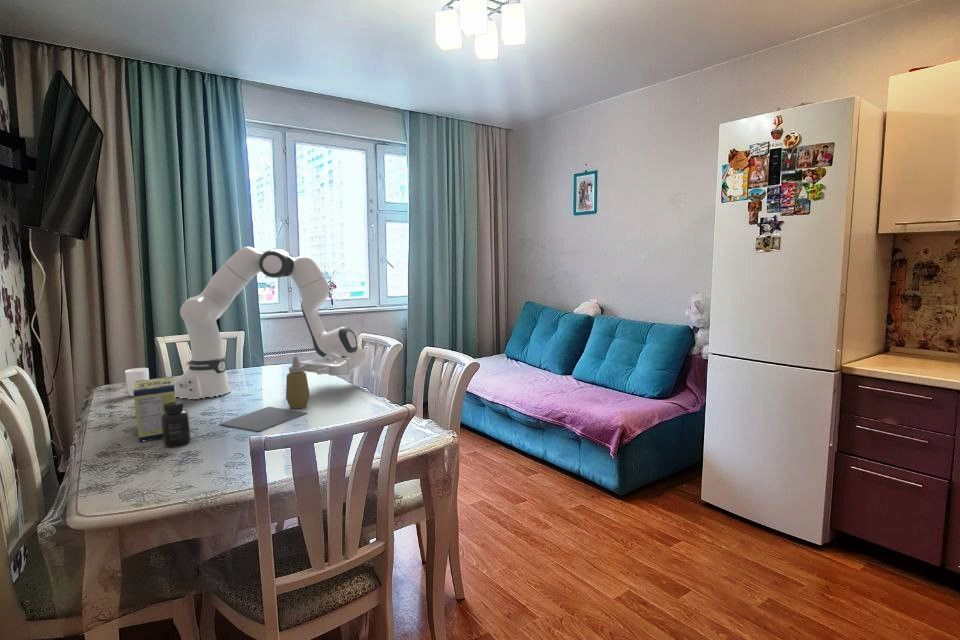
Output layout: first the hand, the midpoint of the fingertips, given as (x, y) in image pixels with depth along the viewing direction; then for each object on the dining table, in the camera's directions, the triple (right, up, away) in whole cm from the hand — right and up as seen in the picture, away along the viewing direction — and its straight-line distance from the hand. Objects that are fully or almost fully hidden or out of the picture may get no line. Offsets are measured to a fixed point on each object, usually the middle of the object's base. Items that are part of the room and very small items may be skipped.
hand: (308, 371), depth 196 cm
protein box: (-35, -16, -33) cm, 51 cm away
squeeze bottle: (0, -12, -10) cm, 15 cm away
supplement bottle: (-23, -17, -44) cm, 53 cm away
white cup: (-71, -11, +12) cm, 73 cm away
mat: (-7, -13, -23) cm, 28 cm away
